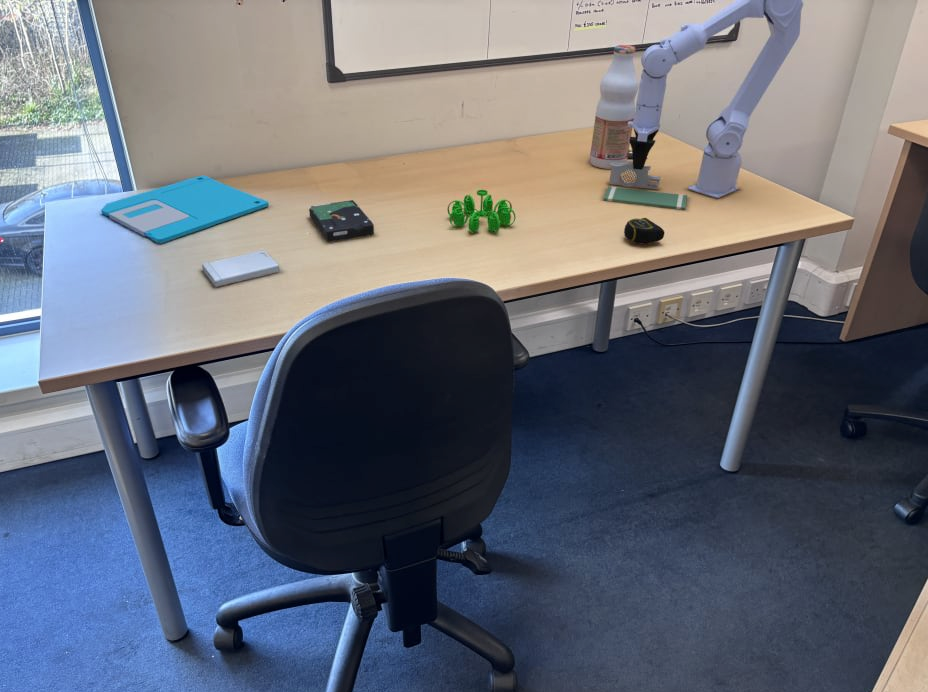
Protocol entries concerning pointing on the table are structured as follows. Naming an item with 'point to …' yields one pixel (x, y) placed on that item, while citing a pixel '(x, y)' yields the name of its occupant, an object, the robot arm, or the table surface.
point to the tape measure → (643, 231)
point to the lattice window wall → (641, 176)
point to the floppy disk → (181, 208)
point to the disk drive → (341, 221)
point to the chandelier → (481, 213)
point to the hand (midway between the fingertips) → (639, 163)
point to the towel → (646, 198)
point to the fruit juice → (615, 110)
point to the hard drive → (240, 268)
